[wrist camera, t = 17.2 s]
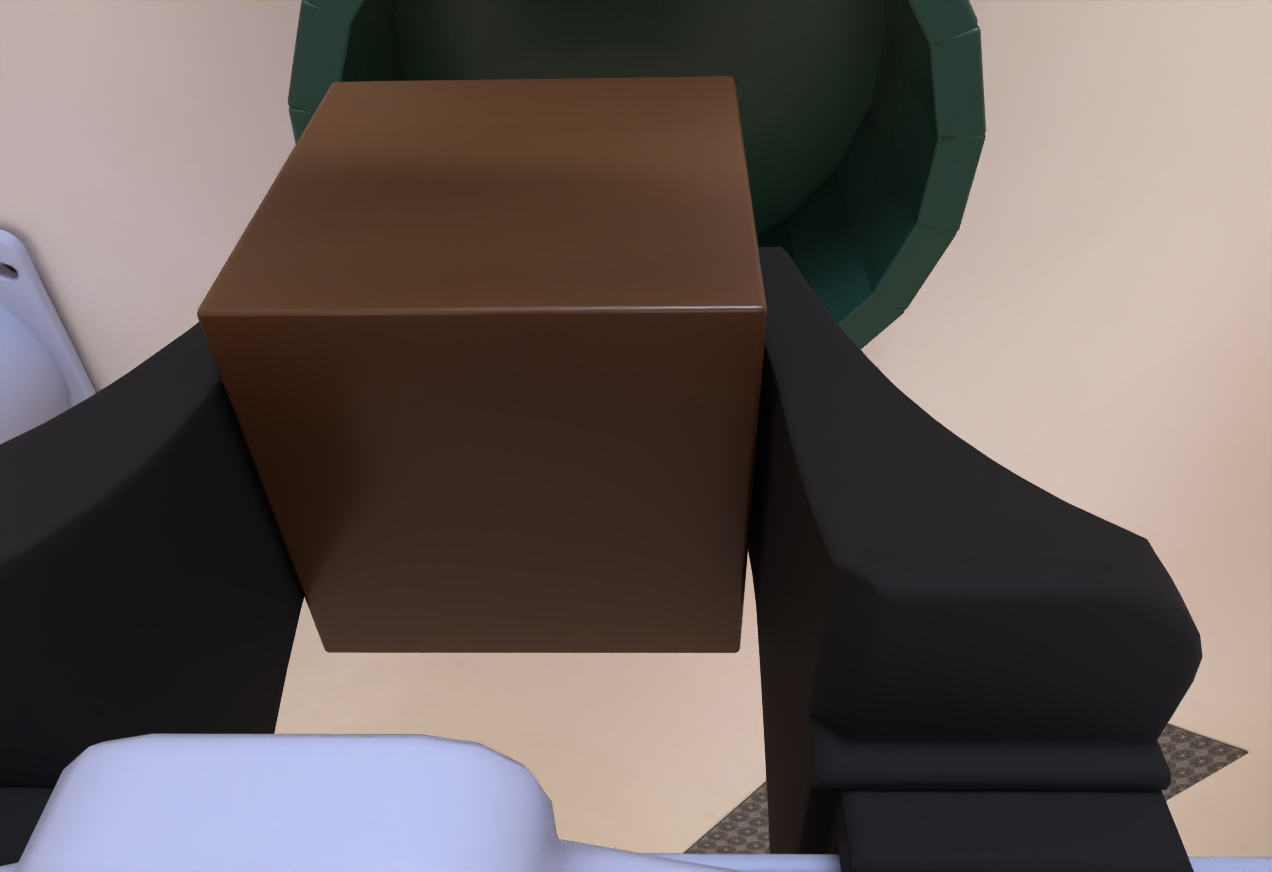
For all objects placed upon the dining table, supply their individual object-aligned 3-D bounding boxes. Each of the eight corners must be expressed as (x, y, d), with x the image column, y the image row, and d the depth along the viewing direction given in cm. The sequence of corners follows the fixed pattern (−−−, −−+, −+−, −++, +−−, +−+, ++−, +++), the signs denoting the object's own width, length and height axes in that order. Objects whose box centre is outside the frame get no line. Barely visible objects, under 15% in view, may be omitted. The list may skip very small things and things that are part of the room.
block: (720, 388, 16) (739, 654, 12) (402, 390, 16) (325, 654, 12) (735, 74, 12) (767, 306, 9) (331, 79, 12) (193, 312, 9)
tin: (941, 221, 24) (999, 360, 20) (485, 326, 26) (454, 471, 22) (885, -387, 16) (960, -363, 12) (254, -166, 19) (143, -84, 15)
